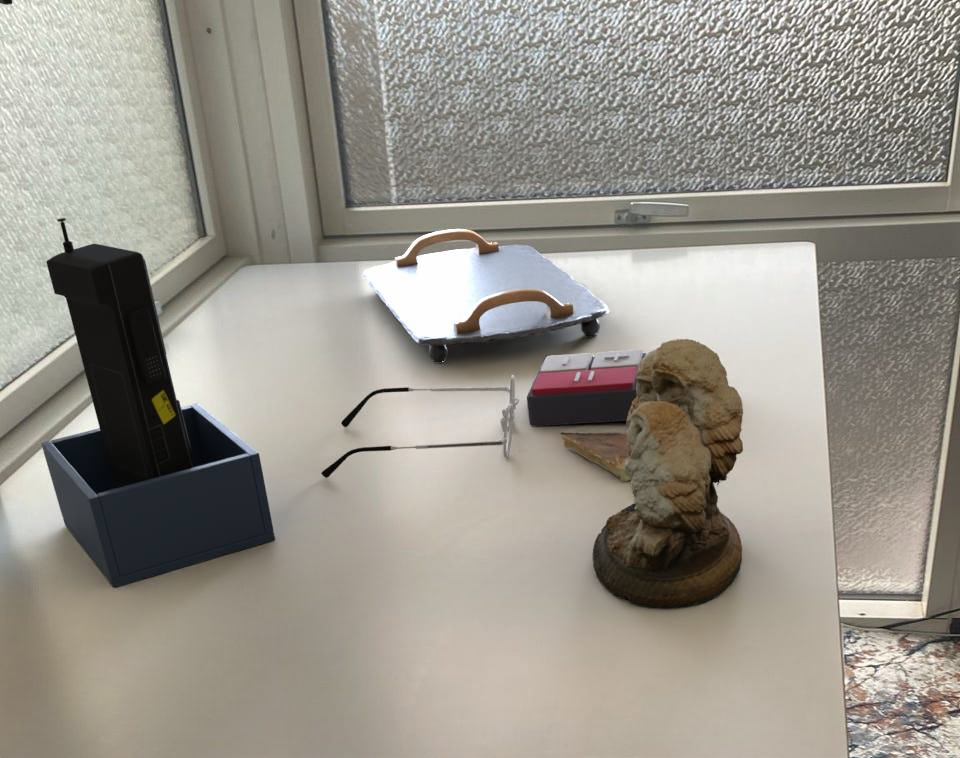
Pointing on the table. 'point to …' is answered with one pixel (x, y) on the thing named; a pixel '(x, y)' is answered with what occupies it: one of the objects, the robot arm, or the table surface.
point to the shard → (601, 450)
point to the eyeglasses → (507, 415)
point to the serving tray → (480, 293)
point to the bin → (162, 502)
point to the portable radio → (123, 360)
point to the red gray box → (584, 388)
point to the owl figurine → (675, 483)
